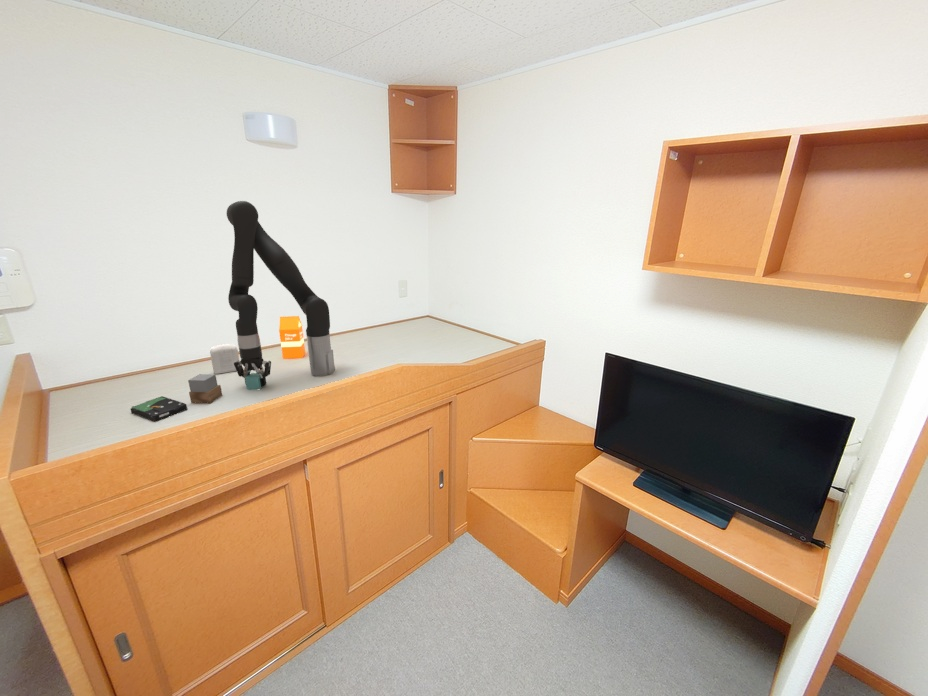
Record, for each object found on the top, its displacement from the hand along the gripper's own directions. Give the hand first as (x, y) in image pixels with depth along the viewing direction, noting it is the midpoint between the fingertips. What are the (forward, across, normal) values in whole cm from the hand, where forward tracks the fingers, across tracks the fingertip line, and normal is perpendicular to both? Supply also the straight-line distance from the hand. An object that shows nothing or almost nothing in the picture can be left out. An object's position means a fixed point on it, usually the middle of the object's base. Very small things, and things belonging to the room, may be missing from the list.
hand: (256, 385), depth 156 cm
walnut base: (+1, +12, +12) cm, 17 cm away
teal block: (0, 0, 0) cm, 0 cm away
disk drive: (+1, +22, +22) cm, 31 cm away
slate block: (-4, +12, +12) cm, 18 cm away
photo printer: (+1, +22, -17) cm, 28 cm away
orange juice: (+1, +2, -39) cm, 39 cm away
